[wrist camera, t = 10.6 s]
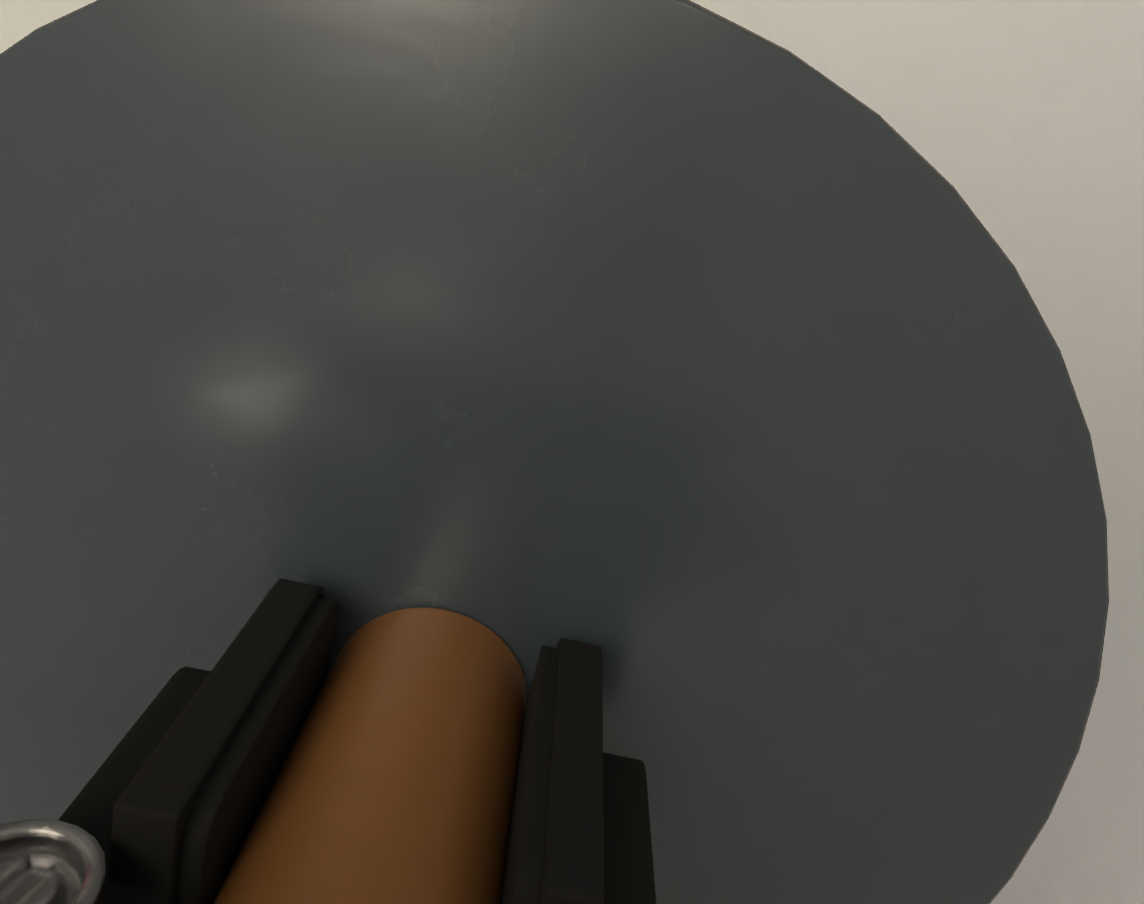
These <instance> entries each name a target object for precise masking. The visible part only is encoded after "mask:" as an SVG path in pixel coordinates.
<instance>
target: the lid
mask: <svg viewBox="0 0 1144 904" xmlns="http://www.w3.org/2000/svg"><path fill="white" fill-rule="evenodd" d="M281 578H283V579H288V580H292V581H297V582H302V583H307V584H311V585H316V586H321V587H323V588H324V591H325V597H324V599H327V600H332V601H336V602H337V615H336V621H335V628H334V634H333V641H332V647H331V654H330V660H329V667H328V673H327V678H326V680H325V682H324V684H323V686H322V688H321V690H320V692H319V694H318V696H317V698H316V700H315V702H314V704H313V706H312V708H311V710H310V712H309V714H308V716H307V718H306V720H305V722H304V724H303V726H302V728H301V730H300V732H299V734H298V736H297V738H296V740H295V742H294V744H293V746H292V748H291V750H290V752H289V754H288V756H287V758H286V760H285V762H284V764H283V766H282V768H281V770H280V772H279V774H278V776H277V778H276V780H275V782H274V784H273V786H272V788H271V790H270V791H269V793H268V795H267V797H266V799H265V801H264V803H263V805H262V807H261V809H260V811H259V813H258V815H257V817H256V819H255V821H254V823H253V825H252V827H251V829H250V831H249V833H248V835H247V837H246V839H245V841H244V843H243V845H242V847H241V849H240V851H239V853H238V855H237V857H236V859H235V861H234V863H233V865H232V867H231V869H230V871H229V873H228V875H227V877H226V879H225V881H224V883H223V885H222V887H221V889H220V891H219V893H218V895H217V897H216V899H215V901H214V903H213V904H500V902H501V894H502V886H503V878H504V870H505V862H506V854H507V846H508V839H509V831H510V823H511V815H512V807H513V799H514V791H515V783H516V775H517V767H518V759H519V751H520V744H521V736H522V728H523V720H524V714H525V710H526V706H527V702H528V698H529V694H530V690H531V686H532V682H533V678H534V674H535V670H536V666H537V662H538V658H539V654H540V651H541V648H542V645H544V646H548V647H553V648H557V645H558V642H559V640H560V638H565V639H569V640H574V641H579V642H583V643H588V644H593V645H598V646H601V647H602V708H603V752H604V753H609V754H614V755H618V756H623V757H628V758H633V759H638V760H642V761H643V763H644V764H645V770H646V778H647V791H648V803H649V816H650V829H651V842H652V855H653V867H654V880H655V893H656V904H990V903H991V902H992V900H993V899H994V898H995V897H996V895H997V894H998V893H999V892H1000V891H1001V889H1002V888H1003V887H1004V886H1005V885H1006V883H1007V882H1008V881H1009V880H1010V879H1011V877H1012V876H1013V874H1014V872H1015V871H1016V869H1017V868H1018V866H1019V864H1020V863H1021V861H1022V860H1023V858H1024V856H1025V855H1026V853H1027V852H1028V850H1029V849H1030V847H1031V845H1032V844H1033V842H1034V841H1035V839H1036V837H1037V836H1038V834H1039V833H1040V831H1041V829H1042V828H1043V826H1044V825H1045V823H1046V821H1047V820H1048V818H1049V816H1050V814H1051V812H1052V810H1053V807H1054V805H1055V803H1056V801H1057V798H1058V796H1059V794H1060V792H1061V789H1062V787H1063V785H1064V783H1065V780H1066V778H1067V776H1068V774H1069V772H1070V769H1071V767H1072V765H1073V763H1074V760H1075V758H1076V756H1077V754H1078V751H1079V748H1080V745H1081V741H1082V738H1083V734H1084V730H1085V727H1086V723H1087V720H1088V716H1089V713H1090V709H1091V706H1092V702H1093V699H1094V695H1095V692H1096V688H1097V685H1098V681H1099V676H1100V668H1101V660H1102V652H1103V644H1104V636H1105V628H1106V620H1107V612H1108V604H1109V591H1108V557H1107V523H1106V515H1105V510H1104V505H1103V500H1102V494H1101V489H1100V484H1099V478H1098V473H1097V468H1096V462H1095V457H1094V452H1093V446H1092V441H1091V436H1090V433H1089V430H1088V427H1087V424H1086V421H1085V419H1084V416H1083V413H1082V410H1081V407H1080V405H1079V402H1078V399H1077V396H1076V393H1075V391H1074V388H1073V385H1072V382H1071V379H1070V377H1069V374H1068V371H1067V368H1066V365H1065V363H1064V360H1063V357H1062V354H1061V351H1060V349H1059V347H1058V345H1057V343H1056V342H1055V340H1054V338H1053V336H1052V334H1051V332H1050V331H1049V329H1048V327H1047V325H1046V323H1045V321H1044V320H1043V318H1042V316H1041V314H1040V312H1039V310H1038V309H1037V307H1036V305H1035V303H1034V301H1033V299H1032V298H1031V296H1030V294H1029V292H1028V290H1027V288H1026V287H1025V285H1024V283H1023V281H1022V279H1021V277H1020V276H1019V274H1018V272H1017V270H1016V268H1015V266H1014V265H1013V264H1012V262H1011V261H1010V260H1009V259H1008V257H1007V256H1006V255H1005V253H1004V252H1003V251H1002V249H1001V248H1000V247H999V245H998V244H997V243H996V242H995V240H994V239H993V238H992V236H991V235H990V234H989V232H988V231H987V230H986V228H985V227H984V226H983V224H982V223H981V222H980V221H979V219H978V218H977V217H976V215H975V214H974V213H973V211H972V210H971V209H970V207H969V206H968V205H967V204H966V202H965V201H964V200H963V198H962V197H961V196H960V194H959V193H958V192H957V190H956V189H955V188H954V187H953V186H952V185H951V184H950V183H949V182H948V181H947V180H946V179H945V178H944V177H943V176H942V175H941V174H940V173H939V172H938V171H937V170H936V169H935V168H934V167H933V166H932V165H931V164H929V163H928V162H927V161H926V160H925V159H924V158H923V157H922V156H921V155H920V154H919V153H918V152H917V151H916V150H915V149H914V148H913V147H912V146H911V145H910V144H909V143H908V142H907V141H906V140H905V139H904V138H902V137H901V136H900V135H899V134H898V133H897V132H896V131H895V130H894V129H893V128H892V127H891V126H890V125H889V124H888V123H887V122H886V121H885V120H884V119H883V118H882V117H881V116H880V115H879V114H877V113H876V112H875V111H873V110H872V109H870V108H869V107H867V106H866V105H865V104H863V103H862V102H860V101H859V100H858V99H856V98H855V97H853V96H852V95H851V94H849V93H848V92H846V91H845V90H844V89H842V88H841V87H839V86H838V85H837V84H835V83H834V82H832V81H831V80H830V79H828V78H827V77H825V76H824V75H822V74H821V73H820V72H818V71H817V70H815V69H814V68H813V67H811V66H810V65H808V64H807V63H806V62H804V61H803V60H801V59H800V58H799V57H797V56H796V55H794V54H793V53H792V52H790V51H789V50H787V49H785V48H783V47H781V46H779V45H777V44H775V43H773V42H771V41H769V40H767V39H765V38H763V37H761V36H759V35H757V34H755V33H753V32H751V31H749V30H747V29H745V28H743V27H741V26H739V25H737V24H735V23H733V22H731V21H730V20H728V19H726V18H724V17H722V16H720V15H718V14H716V13H714V12H712V11H710V10H708V9H706V8H704V7H702V6H700V5H698V4H696V3H694V2H692V1H690V0H97V1H95V2H93V3H91V4H88V5H86V6H84V7H82V8H80V9H78V10H76V11H74V12H71V13H69V14H67V15H65V16H63V17H61V18H59V19H57V20H54V21H52V22H50V23H48V24H46V25H44V26H42V27H40V28H37V29H36V30H35V31H33V32H32V33H30V34H29V35H27V36H26V37H24V38H23V39H22V40H20V41H19V42H17V43H16V44H14V45H13V46H11V47H10V48H9V49H7V50H6V51H4V52H3V53H1V54H0V824H4V823H9V822H15V821H21V820H26V819H48V820H58V819H59V818H60V817H61V816H62V814H63V813H64V812H65V811H66V809H67V808H68V807H69V806H70V804H71V803H72V802H73V801H74V799H75V798H76V797H77V795H78V794H79V793H80V792H81V790H82V789H83V788H84V787H85V785H86V784H87V783H88V782H89V780H90V779H91V778H92V777H93V775H94V774H95V773H96V772H97V770H98V769H99V768H100V767H101V765H102V764H103V763H104V762H105V760H106V759H107V758H108V756H109V755H110V754H111V753H112V751H113V750H114V749H115V748H116V746H117V745H118V744H119V743H120V741H121V740H122V739H123V738H124V736H125V735H126V734H127V733H128V731H129V730H130V729H131V728H132V726H133V725H134V724H135V723H136V721H137V720H138V719H139V717H140V716H141V715H142V714H143V712H144V711H145V710H146V709H147V707H148V706H149V705H150V704H151V702H152V701H153V700H154V699H155V697H156V696H157V695H158V694H159V692H160V691H161V690H162V689H163V687H164V686H165V685H166V684H167V682H168V681H169V680H170V678H171V677H172V676H173V675H174V674H175V673H176V672H177V671H178V670H179V669H180V668H183V667H186V666H187V667H192V668H197V669H202V670H207V671H212V669H213V668H214V667H215V665H216V664H217V662H218V661H219V660H220V658H221V657H222V656H223V654H224V653H225V651H226V650H227V649H228V647H229V646H230V645H231V643H232V642H233V640H234V639H235V638H236V636H237V635H238V634H239V632H240V631H241V630H242V628H243V627H244V625H245V624H246V623H247V621H248V620H249V619H250V617H251V616H252V614H253V613H254V612H255V610H256V609H257V608H258V606H259V605H260V603H261V602H262V601H263V599H264V598H265V597H266V595H267V594H268V592H269V591H270V590H271V588H272V587H273V586H274V584H275V583H276V582H277V581H278V580H279V579H281Z"/></svg>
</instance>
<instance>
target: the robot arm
mask: <svg viewBox="0 0 1144 904" xmlns="http://www.w3.org/2000/svg"><path fill="white" fill-rule="evenodd" d="M324 597H325V591H324V588H323V587H321V586H316V585H311V584H307V583H302V582H297V581H292V580H288V579H283V578H281V579H279V580H278V581H277V582H276V583H275V584H274V586H273V587H272V588H271V590H270V591H269V592H268V594H267V595H266V597H265V598H264V599H263V601H262V602H261V603H260V605H259V606H258V608H257V609H256V610H255V612H254V613H253V614H252V616H251V617H250V619H249V620H248V621H247V623H246V624H245V625H244V627H243V628H242V630H241V631H240V632H239V634H238V635H237V636H236V638H235V639H234V640H233V642H232V643H231V645H230V646H229V647H228V649H227V650H226V651H225V653H224V654H223V656H222V657H221V658H220V660H219V661H218V662H217V664H216V665H215V667H214V668H213V669H212V671H207V670H202V669H197V668H192V667H187V666H186V667H183V668H180V669H179V670H178V671H177V672H176V673H175V674H174V675H173V676H172V677H171V678H170V680H169V681H168V682H167V684H166V685H165V686H164V687H163V689H162V690H161V691H160V692H159V694H158V695H157V696H156V697H155V699H154V700H153V701H152V702H151V704H150V705H149V706H148V707H147V709H146V710H145V711H144V712H143V714H142V715H141V716H140V717H139V719H138V720H137V721H136V723H135V724H134V725H133V726H132V728H131V729H130V730H129V731H128V733H127V734H126V735H125V736H124V738H123V739H122V740H121V741H120V743H119V744H118V745H117V746H116V748H115V749H114V750H113V751H112V753H111V754H110V755H109V756H108V758H107V759H106V760H105V762H104V763H103V764H102V765H101V767H100V768H99V769H98V770H97V772H96V773H95V774H94V775H93V777H92V778H91V779H90V780H89V782H88V783H87V784H86V785H85V787H84V788H83V789H82V790H81V792H80V793H79V794H78V795H77V797H76V798H75V799H74V801H73V802H72V803H71V804H70V806H69V807H68V808H67V809H66V811H65V812H64V813H63V814H62V816H61V817H60V818H59V819H58V820H48V819H26V820H21V821H15V822H9V823H4V824H0V904H213V903H214V901H215V899H216V897H217V895H218V893H219V891H220V889H221V887H222V885H223V883H224V881H225V879H226V877H227V875H228V873H229V871H230V869H231V867H232V865H233V863H234V861H235V859H236V857H237V855H238V853H239V851H240V849H241V847H242V845H243V843H244V841H245V839H246V837H247V835H248V833H249V831H250V829H251V827H252V825H253V823H254V821H255V819H256V817H257V815H258V813H259V811H260V809H261V807H262V805H263V803H264V801H265V799H266V797H267V795H268V793H269V791H270V790H271V788H272V786H273V784H274V782H275V780H276V778H277V776H278V774H279V772H280V770H281V768H282V766H283V764H284V762H285V760H286V758H287V756H288V754H289V752H290V750H291V748H292V746H293V744H294V742H295V740H296V738H297V736H298V734H299V732H300V730H301V728H302V726H303V724H304V722H305V720H306V718H307V716H308V714H309V712H310V710H311V708H312V706H313V704H314V702H315V700H316V698H317V696H318V694H319V692H320V690H321V688H322V686H323V684H324V682H325V680H326V678H327V673H328V667H329V660H330V654H331V647H332V641H333V634H334V628H335V621H336V615H337V602H336V601H332V600H327V599H324ZM500 904H656V893H655V880H654V867H653V855H652V842H651V829H650V816H649V803H648V791H647V778H646V770H645V764H644V763H643V761H642V760H638V759H633V758H628V757H623V756H618V755H614V754H609V753H604V752H603V708H602V647H601V646H598V645H593V644H588V643H583V642H579V641H574V640H569V639H565V638H560V640H559V642H558V645H557V648H553V647H548V646H544V645H542V648H541V651H540V654H539V658H538V662H537V666H536V670H535V674H534V678H533V682H532V686H531V690H530V694H529V698H528V702H527V706H526V710H525V714H524V720H523V728H522V736H521V744H520V751H519V759H518V767H517V775H516V783H515V791H514V799H513V807H512V815H511V823H510V831H509V839H508V846H507V854H506V862H505V870H504V878H503V886H502V894H501V902H500Z"/></svg>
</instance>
